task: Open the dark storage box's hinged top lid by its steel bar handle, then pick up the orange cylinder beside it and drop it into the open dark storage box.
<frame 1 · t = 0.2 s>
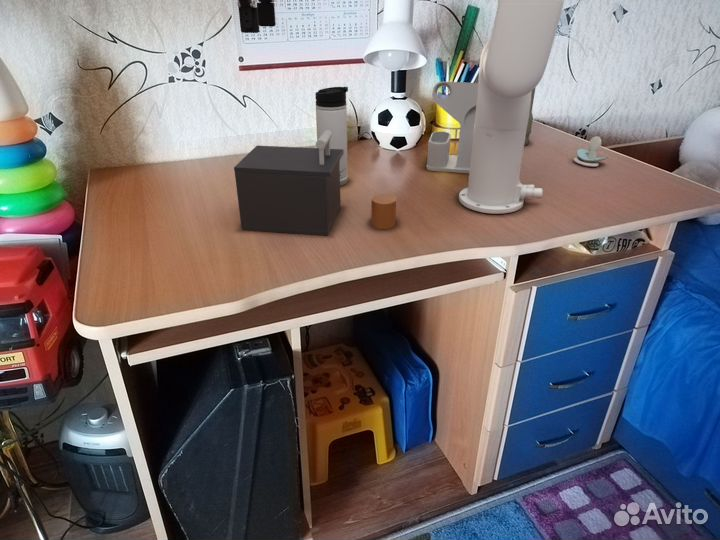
hand: (259, 29, 98), 31 cm above the table, tool pointing down, fingers open, 9 cm apart
gray holder stand: (463, 166, 127), on the table
orange cylinder: (383, 224, 99), on the table
lid: (290, 147, 94), point 14 cm above the table, hinge at 0.0°
travel mug: (334, 183, 117), on the table
pacifier: (587, 164, 128), on the table
dark storage box: (293, 218, 101), on the table
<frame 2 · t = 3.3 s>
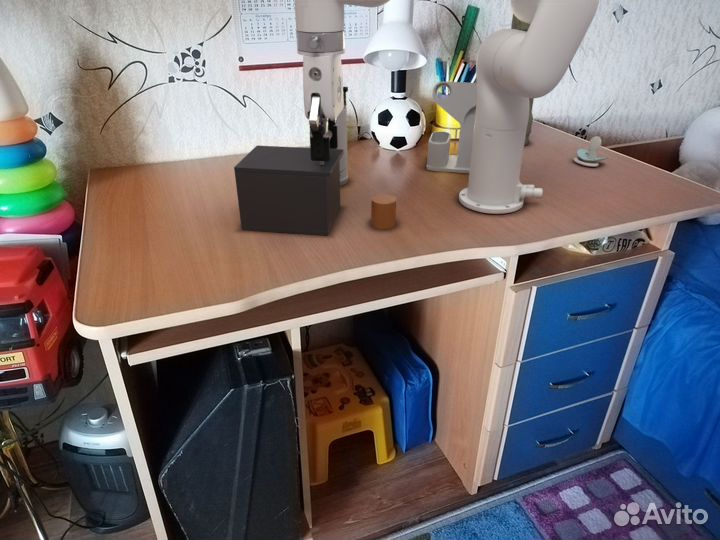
hand: (324, 153, 94), 13 cm above the table, tool pointing down, fingers closed on lid, 6 cm apart
lid: (290, 147, 94), point 14 cm above the table, hinge at 0.0°, touching gripper
everything else where it was.
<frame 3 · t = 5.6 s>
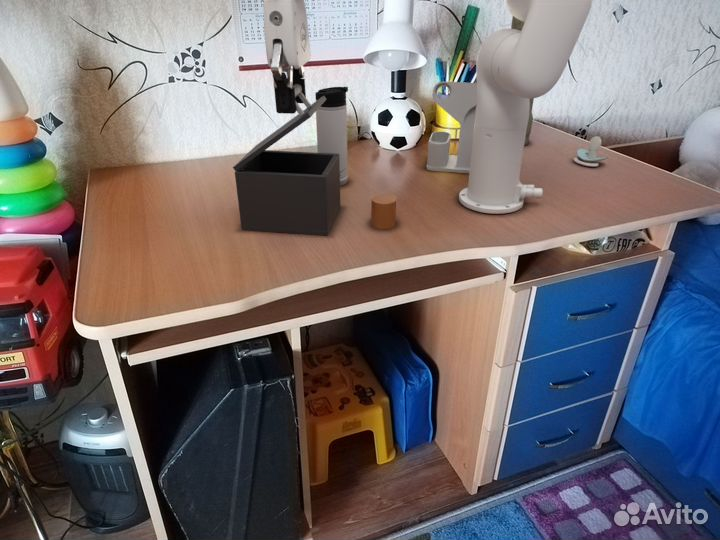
hand: (291, 106, 91), 21 cm above the table, tool pointing down, fingers closed on lid, 6 cm apart
lid: (272, 121, 93), point 18 cm above the table, hinge at 35.6°, touching gripper
everything else where it was.
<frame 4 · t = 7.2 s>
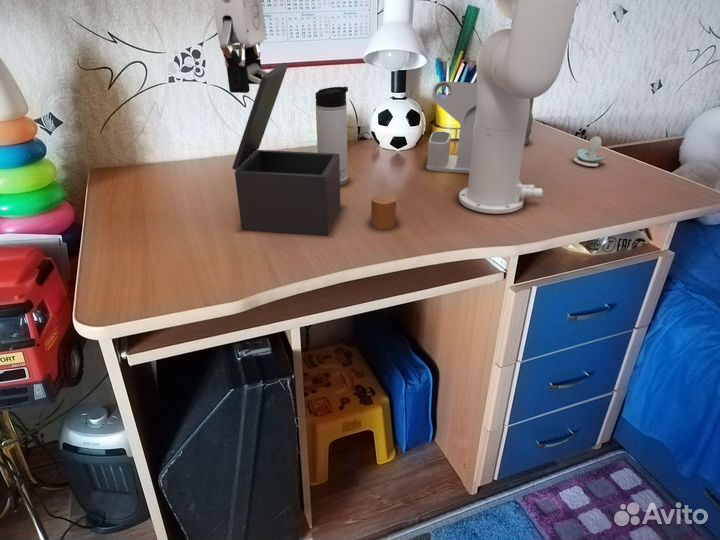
hand: (246, 86, 90), 24 cm above the table, tool pointing down, fingers closed on lid, 6 cm apart
lid: (248, 110, 92), point 20 cm above the table, hinge at 65.8°, touching gripper
everything else where it was.
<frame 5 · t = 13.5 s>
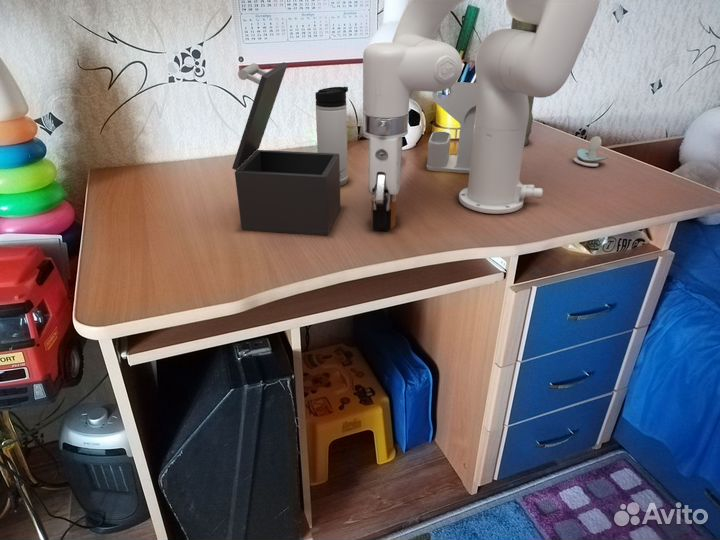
hand: (383, 222, 99), 0 cm above the table, tool pointing down, fingers closed on orange cylinder, 4 cm apart
orange cylinder: (383, 224, 99), on the table, touching gripper
lid: (248, 110, 92), point 20 cm above the table, hinge at 66.3°
everything else where it was.
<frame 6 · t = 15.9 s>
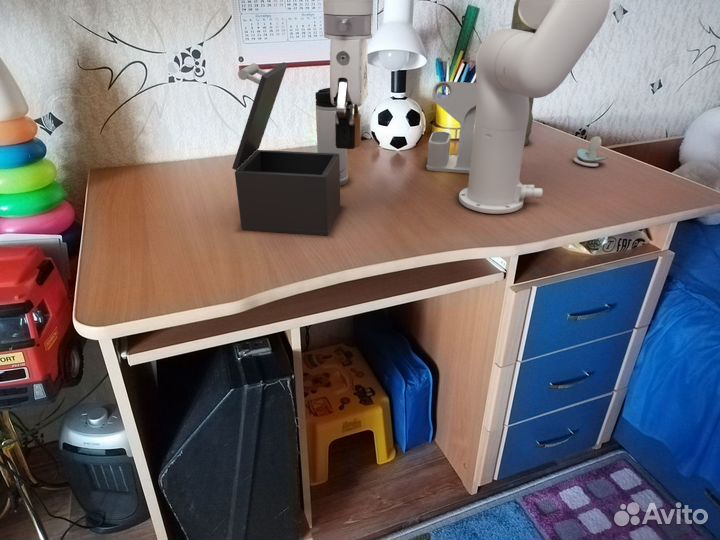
hand: (347, 142, 92), 15 cm above the table, tool pointing down, fingers closed on orange cylinder, 4 cm apart
orange cylinder: (347, 144, 92), point 15 cm above the table, touching gripper
everything else where it was.
when the fingers open (10 cm above the table, at t = 18.4 s): orange cylinder drops 9 cm, resting on dark storage box.
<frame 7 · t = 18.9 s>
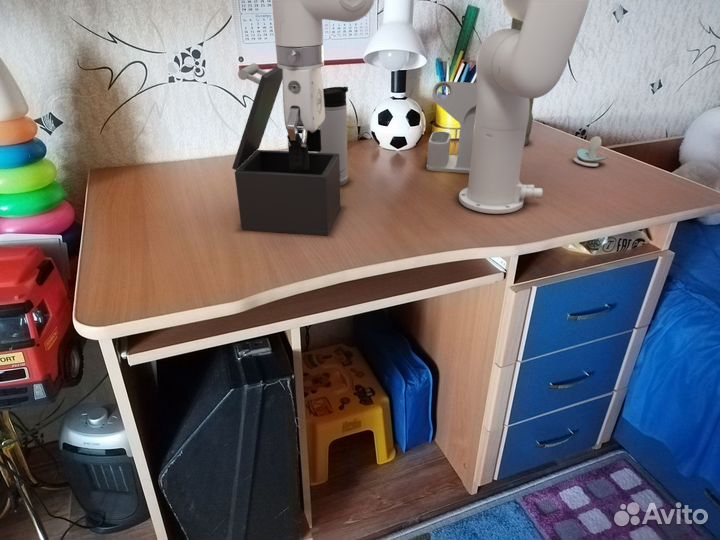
hand: (306, 159, 95), 12 cm above the table, tool pointing down, fingers open, 9 cm apart
orange cylinder: (308, 215, 100), point 1 cm above the table, touching dark storage box
everything else where it was.
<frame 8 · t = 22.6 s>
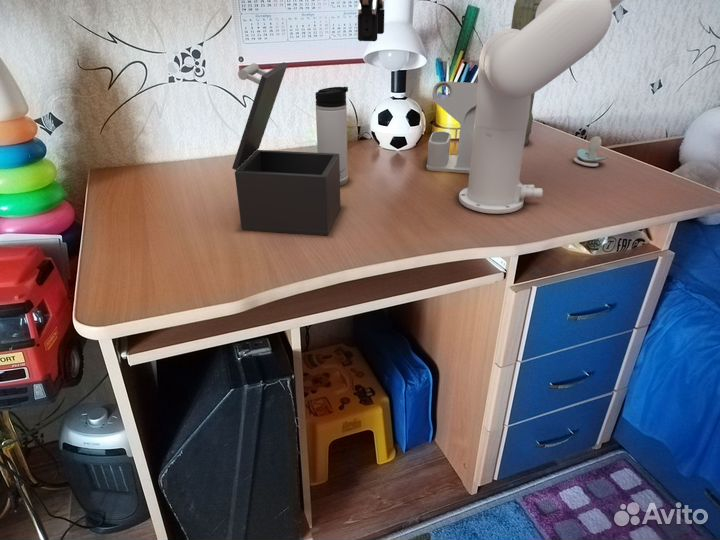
hand: (371, 37, 94), 30 cm above the table, tool pointing down, fingers open, 9 cm apart
nothing on the table moved.
at the end: lid at +66° (first picture: +0°); orange cylinder inside the target area in the dark storage box (3.0 cm from its centre), point 0.9 cm above the dark storage box's base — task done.
